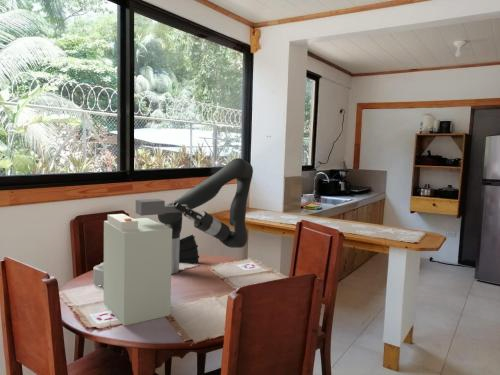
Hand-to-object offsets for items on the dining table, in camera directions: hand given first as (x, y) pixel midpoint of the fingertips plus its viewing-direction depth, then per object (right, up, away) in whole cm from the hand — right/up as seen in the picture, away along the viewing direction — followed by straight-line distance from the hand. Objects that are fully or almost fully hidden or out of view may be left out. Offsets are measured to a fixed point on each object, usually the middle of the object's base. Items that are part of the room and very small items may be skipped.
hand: (174, 205), depth 153 cm
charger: (-4, -3, -2) cm, 6 cm away
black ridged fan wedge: (-5, -33, +57) cm, 66 cm away
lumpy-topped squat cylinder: (-34, -36, +21) cm, 53 cm away
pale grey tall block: (-14, -39, -5) cm, 41 cm away
